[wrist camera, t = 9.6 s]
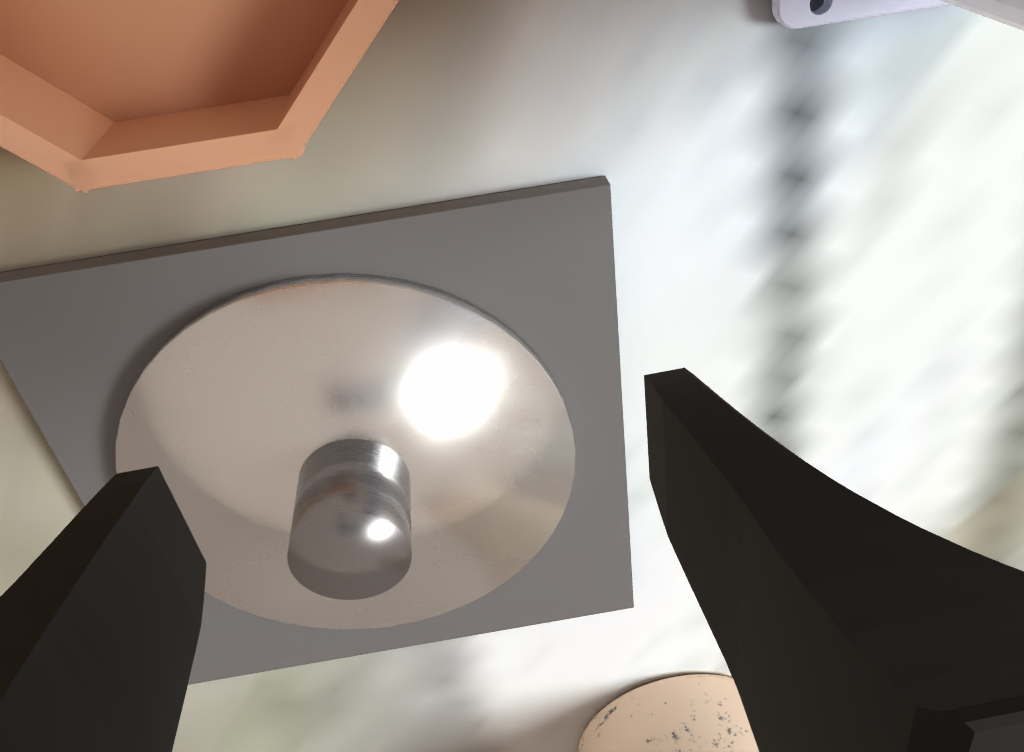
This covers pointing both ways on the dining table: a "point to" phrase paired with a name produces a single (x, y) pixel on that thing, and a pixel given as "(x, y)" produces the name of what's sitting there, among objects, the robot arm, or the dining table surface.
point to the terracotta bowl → (172, 81)
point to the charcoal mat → (361, 250)
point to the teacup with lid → (673, 718)
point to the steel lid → (353, 448)
